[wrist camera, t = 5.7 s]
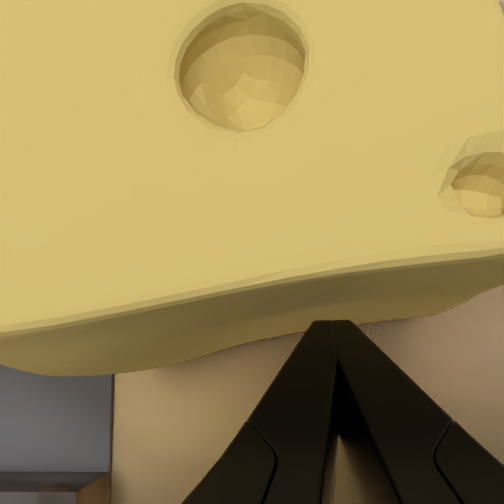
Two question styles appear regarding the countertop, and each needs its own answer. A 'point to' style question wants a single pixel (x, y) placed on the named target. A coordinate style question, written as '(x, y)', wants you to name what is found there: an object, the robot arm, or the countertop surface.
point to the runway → (55, 438)
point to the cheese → (240, 172)
